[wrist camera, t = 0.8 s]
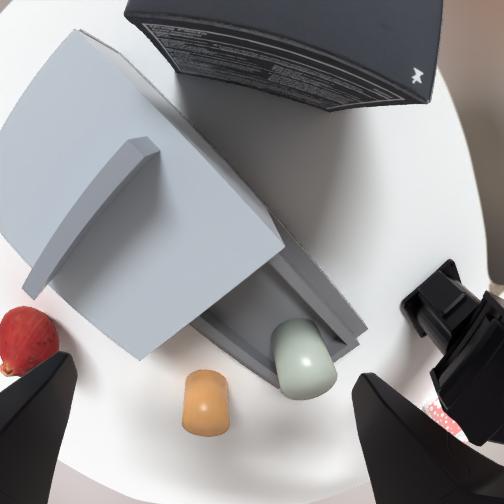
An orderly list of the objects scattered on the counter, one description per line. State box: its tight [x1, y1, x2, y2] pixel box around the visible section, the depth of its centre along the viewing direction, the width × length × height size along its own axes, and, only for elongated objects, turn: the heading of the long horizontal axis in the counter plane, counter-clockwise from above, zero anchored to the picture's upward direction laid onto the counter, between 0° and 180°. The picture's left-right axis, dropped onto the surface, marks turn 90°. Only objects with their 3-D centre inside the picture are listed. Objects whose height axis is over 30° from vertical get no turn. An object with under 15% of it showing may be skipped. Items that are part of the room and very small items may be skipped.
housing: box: [79, 29, 368, 400], centre depth 18 cm, size 28×10×6 cm, turn 41°
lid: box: [0, 29, 285, 361], centre depth 13 cm, size 14×10×8 cm
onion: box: [0, 306, 59, 377], centre depth 18 cm, size 6×6×8 cm
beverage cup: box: [425, 393, 468, 444], centre depth 27 cm, size 6×6×14 cm
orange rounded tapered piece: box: [182, 370, 229, 437], centre depth 24 cm, size 4×4×5 cm
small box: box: [124, 0, 444, 112], centre depth 10 cm, size 11×6×10 cm, turn 76°
